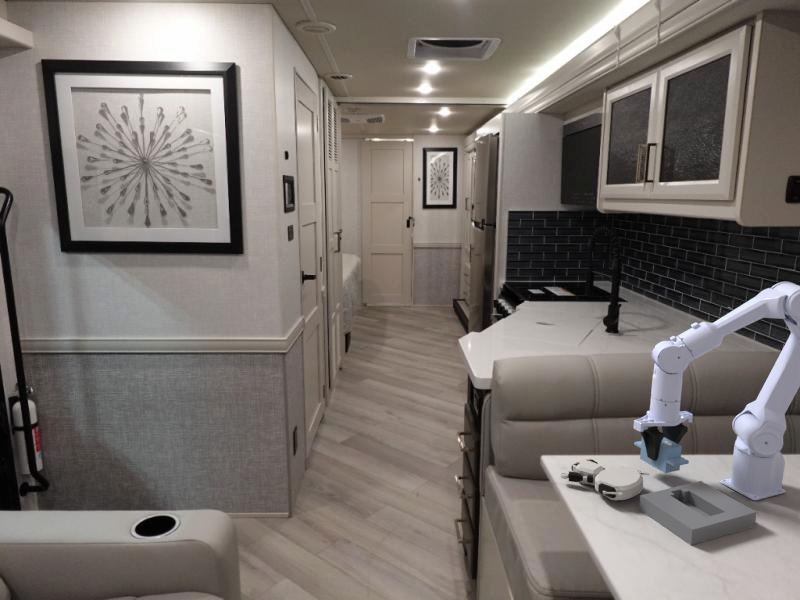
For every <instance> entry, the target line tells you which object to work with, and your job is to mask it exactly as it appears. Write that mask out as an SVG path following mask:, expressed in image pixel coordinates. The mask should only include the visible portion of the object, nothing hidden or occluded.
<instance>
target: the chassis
mask: <svg viewBox="0 0 800 600" xmlns="http://www.w3.org/2000/svg"><path fill="white" fill-rule="evenodd" d="M638 506H639V507H638V509H639V511H641V512H642V513H644V514H645V515H647V516H648V517H650V518H651V519H652V520H654V521H655V522H657V523H659V525H660V526H661V525H662V527H664V528H666V529H667V530H668V531H669V532H671V533H672V534H674V535H675V536H677V537H678V538H680V539H681V540H683V541H684V542H685V543H687V544H688V545H690V546H693V545H696V544H700V543H703V542H706V541H709V540H713V539H717V538H720V537H724V536H727V535H730V534H733V533H738V532H741V531H745V530H748V529H751V528H755V526H756V521H757V513H758V512H757V511H755V509H752V508H750V507H748V506H747V505H745V504H743V503H742V502H739V501H738V500H736V499H734V498H732V497H730V496H729V495H727V494H725V493H723V492H721V491H719V490H718V489H717V488H714V487H713V486H710V485H709V484H707V483H706V482H704V481H702V480H700V481H695V482H691V483H687V484H682V485H678V486H675V487H671V488H669V487H668V488H666V489H665V488H664V489H661V490H657V491H654V492H649V493H645V494H640V496H639V505H638Z"/></svg>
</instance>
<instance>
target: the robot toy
mask: <svg viewBox="0 0 800 600" xmlns="http://www.w3.org/2000/svg"><path fill="white" fill-rule="evenodd" d="M570 468H571V471H569V470H568V472H561V473H560V478H561V479H564V480H566V479H568V482H571V483H580V484H583V485H590V486H594V489H595V491H596V492H597V494H599V495H601V496H604V497H605V498H608V499H610V500H611V501H625V500H628V499H631V498H634V497H636V496H638V495H639V494H640V493H641V491H642V490H643V488H644V477H643V475H644V476H646V475H647V476H649V475H650V473H649V472H640V471H639V472H640V473H639V472H638V470H635V469H632V468H628V467H624V466H622V465H621V466H620V465H616V466H615V465H614V466H610V467H607V468H605V467H603V466H602V465H600V464H599V463H598V462H597V461H596V460H594V459H592V458H591V459H589V458H586V459H583V460H582V461H576V463H573V464H571V466H570Z"/></svg>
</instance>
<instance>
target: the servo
mask: <svg viewBox="0 0 800 600" xmlns="http://www.w3.org/2000/svg"><path fill="white" fill-rule="evenodd" d="M633 444H634V445H635V447H637V448H639V449H640V454H639V460H641V461H643V462H645V463H647V464H648V465H649V466H652V467H653V468H656V469H657V470H659V471H661V472H662V473H664V474H668V473H672V472H673V473H674V472H678V471H680V469H681V468H680V466H684V465H688V464H689V462H690V461H689V460H688V459H686V458H684V457H682V451H683V450H682V449H683V446H682V445H680V443H679V444H677V443H675V442H673V441H671V440H669V439H667V438H665V437H664V438H663V440H662V442H661V445H660V449H659V455H658V459H657V460H656V461H654V460H652V459H650V458H648V457H647V451H646V447H645V443H644V440H643V437H642V436H641V440H639V441H634V442H633ZM634 445H633V446H634Z"/></svg>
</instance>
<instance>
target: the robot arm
mask: <svg viewBox="0 0 800 600" xmlns="http://www.w3.org/2000/svg"><path fill="white" fill-rule="evenodd" d="M761 319H781V320H783V321H784V323H785V325H786V326H787V328H788V330H789V331H790V334H789V336H788V338H787V340H786V342H785V344H784V346H783V348H782V350H781V352H780V354H779V356H778V357H777V359H776V361H775V363H774V365H773V367H772V369H771V371H770V373H769V374H768V377H767V378H766V381H765V382H764V384H763V386H762V388H761V389H760V391H759V393H758V396H757V397H756V399H755V400H753V401H752V402H749V403H748V404H746V406H745V407H744V409H743V410H742V411H741V412H740V413H738V414H737V415H736V416H735V417H734V418H733V420H732V430H733V432H734V433H735V435H736V440H735V442H734V447H733V455H732V462H731V472H730V477H729V478H728V477H727V478H724V479H720V481H719V483H720V484H722V485H724V486H725V487H728V488H730V489H731V490H733V491H735V492H737V493H739V494H740V495H742V496H744V497H746V498H748V499H750V500H752V501H755V502H756V501H758V500H763V499H766V498H770V497H774V496H779V495H781V494H786V490H785V489H784V488H783V487H782V486H783V481H784V480H783V479H784V472H785V464H786V461H785V458H784V456H783V454H782V452H781V451H782V449H783V446H784V435H785V432H786V431H787V423H786V422H787V421H786V413H787V411H788V408H790V407H789V406H790V405H791V403H792V401H793V399H794V397H795V396H796V394H797V393H798V390H799V389H800V285H798V284H796V283H794V282H791V281H780V282H778V283H776V284H774V285H772V286H771V287H768V288H765V289H762V290H761V291H760V292H759V293H758V294H757V295H755V296H754V297H752V298H750V299H749V300H748V301H746V302H744V303H743V304H741V305H740V306H738V307H736V308H735V309H733V310H731V311H730V312H727V313H726V314H725V315H723V316H722V317H720V318H718V319H717V320H716V321H714V322H707V321H702V322H700V323H698V322H694V323H692V324H690V327H691V328H689V329H687V330H685V331H683V332H682V333H680V334H678V335H677V336H674V335H672V336H670V337H669V339H670V340H662V341H660V342H658V343H657V344H656V345H655V346H654V348H653V349H652V351H650V356H651V358H652V360H653V361H654V364H653V373H652V377H651V378H652V379H651V380H652V381H651V389H650V390H651V392H650V401H649V402H650V404H649V410H647V411H646V414H645V415H644V416H642V417H640V418H637V419H634V420H633V429H634V430H635V431H638V432H639V433H640V434H641V438H642V437H643V440H644V443H645V447H646V451H647V457H648V458H650V459H652V460H654V461H656V460H657V459H658V455H659V449H660V445H661V442H662V440H663V438H664V437H665V438H667V439H669V440H671V441H673V442H675V443H677V444H679V445H680V442H681V441H682V438H683V437H684V436H685V435H687V433H688V429H689V427H688V426H687V425H684V424H683V423H688V424H689V423H693V417H694V416H693V415H694V414H693V413H691V412H689V411H688V410H683V411H681V399H682V390H683V389H682V388H683V374H684V372H685V370H686V369H688V367H689V364H690V363H691V361H694V360H696V359H697V358H699V357H701V356H704V355H705V354H707V353H709V352H711V351H713V350H715V349H717V348H718V347H719V346H721V345H722V343H723V340H724V338H725V336H727V335H730V334H733V333H734V332H736V331H738V330H740V329H743V328H744V327H746V326H748V325H751V324H753V323H755V322H757V321H759V320H761ZM660 427H661V429H662V432H661V431H660V429H658V428H660Z"/></svg>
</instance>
